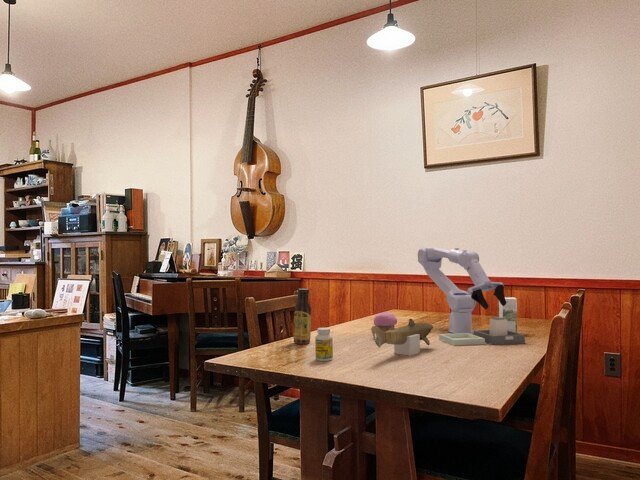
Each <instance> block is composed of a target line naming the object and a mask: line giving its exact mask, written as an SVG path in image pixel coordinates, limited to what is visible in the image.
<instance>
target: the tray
mask: <svg viewBox="0 0 640 480" xmlns="http://www.w3.org/2000/svg"><path fill="white" fill-rule="evenodd" d="M438 340H439V341H441V342H444V343H446V344H448V345H451V346H454V347H455V346H456V347H457V346H476V345H478V346H479V345H486V342H485V338H482V337H479V336H475V335H474V334H469V333H459V334H454V333H440V334H438Z"/></svg>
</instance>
